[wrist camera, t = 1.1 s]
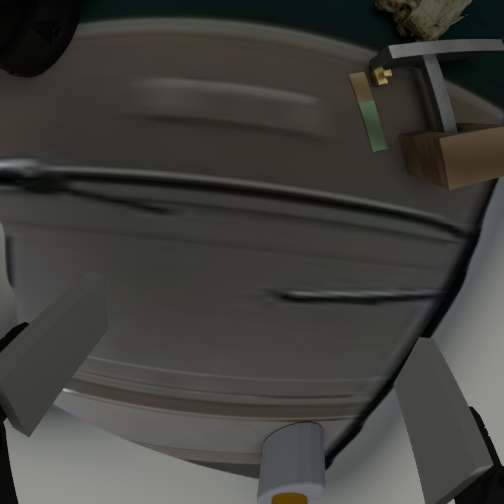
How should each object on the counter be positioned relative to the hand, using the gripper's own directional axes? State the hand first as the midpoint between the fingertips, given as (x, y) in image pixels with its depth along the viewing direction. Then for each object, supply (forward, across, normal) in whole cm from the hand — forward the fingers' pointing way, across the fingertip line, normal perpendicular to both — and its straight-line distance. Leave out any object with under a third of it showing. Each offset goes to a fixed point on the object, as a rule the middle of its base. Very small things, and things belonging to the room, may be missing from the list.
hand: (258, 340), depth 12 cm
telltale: (+25, +8, +16) cm, 31 cm away
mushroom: (+26, +13, +28) cm, 40 cm away
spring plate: (+24, +15, +16) cm, 33 cm away
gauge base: (+25, +13, +13) cm, 31 cm away
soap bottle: (+25, +12, -42) cm, 50 cm away
